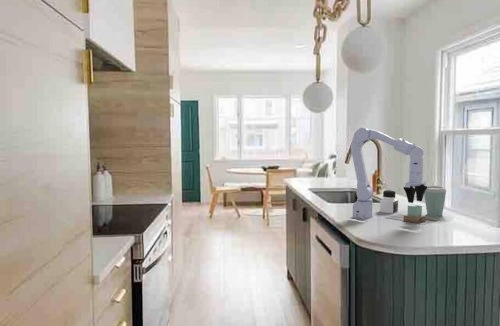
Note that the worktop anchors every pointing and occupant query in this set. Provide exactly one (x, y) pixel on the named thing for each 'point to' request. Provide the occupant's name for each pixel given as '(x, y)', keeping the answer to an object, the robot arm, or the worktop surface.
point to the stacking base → (401, 218)
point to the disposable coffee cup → (435, 200)
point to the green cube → (414, 210)
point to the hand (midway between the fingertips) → (415, 201)
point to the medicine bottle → (389, 202)
